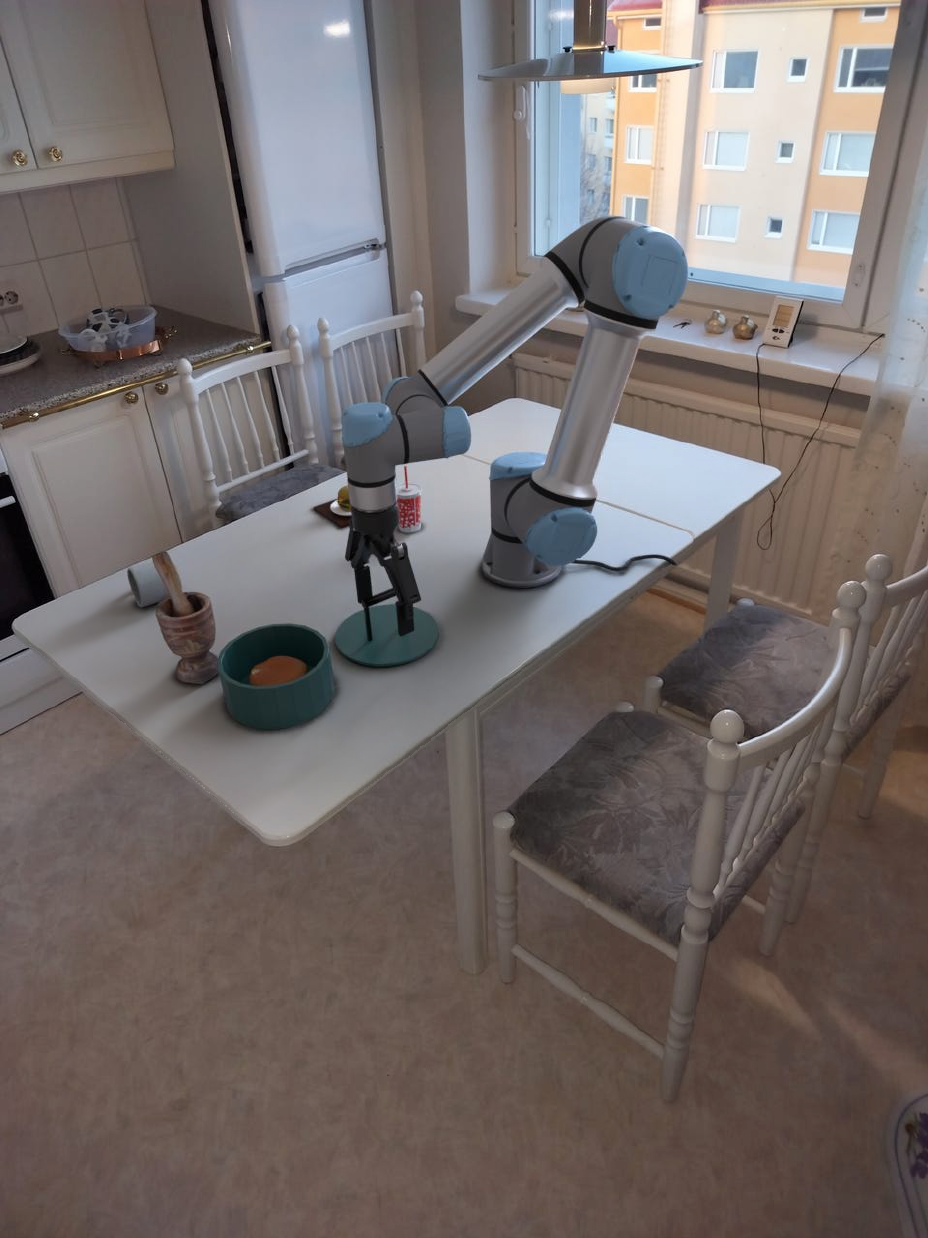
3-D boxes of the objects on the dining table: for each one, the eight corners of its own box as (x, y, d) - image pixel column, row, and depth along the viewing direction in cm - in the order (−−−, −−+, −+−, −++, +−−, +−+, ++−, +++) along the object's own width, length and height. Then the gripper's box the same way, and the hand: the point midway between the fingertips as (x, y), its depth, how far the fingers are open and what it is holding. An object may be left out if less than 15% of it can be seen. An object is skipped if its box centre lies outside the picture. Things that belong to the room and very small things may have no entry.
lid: (460, 641, 149) (458, 595, 144) (371, 683, 140) (365, 636, 135) (401, 598, 161) (398, 554, 156) (317, 634, 153) (309, 589, 147)
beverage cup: (415, 517, 188) (410, 457, 180) (429, 528, 184) (425, 467, 176) (390, 526, 185) (384, 465, 177) (404, 537, 181) (399, 475, 173)
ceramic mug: (187, 599, 163) (178, 563, 159) (145, 614, 160) (134, 578, 155) (168, 577, 171) (158, 543, 166) (126, 591, 167) (116, 556, 163)
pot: (354, 699, 137) (348, 658, 133) (256, 745, 129) (247, 704, 125) (302, 650, 149) (296, 611, 144) (209, 690, 140) (199, 650, 136)
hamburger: (341, 527, 185) (339, 504, 182) (313, 508, 193) (310, 486, 190) (388, 510, 191) (386, 488, 188) (359, 492, 199) (357, 470, 196)
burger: (316, 702, 136) (312, 679, 133) (256, 716, 134) (251, 693, 131) (305, 667, 144) (301, 644, 141) (248, 680, 142) (243, 657, 139)
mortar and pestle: (150, 669, 146) (120, 566, 134) (190, 643, 151) (164, 543, 140) (196, 692, 140) (168, 587, 129) (236, 665, 146) (213, 562, 135)
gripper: (438, 523, 130) (445, 639, 142) (354, 471, 146) (366, 580, 158) (397, 538, 126) (407, 657, 138) (315, 484, 143) (330, 594, 155)
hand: (385, 616), depth 148 cm, fingers open, 12 cm apart
